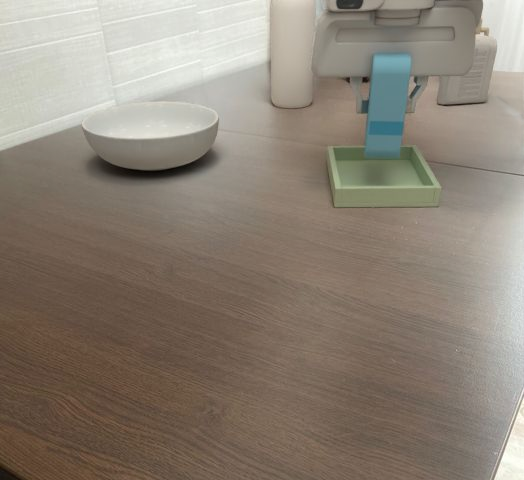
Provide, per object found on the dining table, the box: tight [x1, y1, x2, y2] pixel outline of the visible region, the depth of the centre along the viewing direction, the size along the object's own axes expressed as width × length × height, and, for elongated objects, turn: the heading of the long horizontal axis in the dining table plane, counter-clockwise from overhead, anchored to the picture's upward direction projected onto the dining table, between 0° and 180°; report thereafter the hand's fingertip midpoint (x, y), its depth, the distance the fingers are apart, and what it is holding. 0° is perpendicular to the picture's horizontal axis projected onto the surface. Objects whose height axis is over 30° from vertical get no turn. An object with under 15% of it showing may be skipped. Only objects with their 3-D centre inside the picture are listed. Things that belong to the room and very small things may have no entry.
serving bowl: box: [80, 100, 220, 172], centre depth 87 cm, size 21×21×7 cm
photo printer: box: [436, 33, 498, 106], centre depth 111 cm, size 10×4×12 cm, turn 102°
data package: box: [364, 53, 412, 159], centre depth 73 cm, size 12×4×12 cm, turn 171°
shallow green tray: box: [326, 144, 442, 208], centre depth 79 cm, size 14×18×3 cm
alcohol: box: [269, 0, 317, 109], centre depth 108 cm, size 9×9×30 cm
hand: (384, 112), depth 74 cm, fingers closed on data package, 5 cm apart
